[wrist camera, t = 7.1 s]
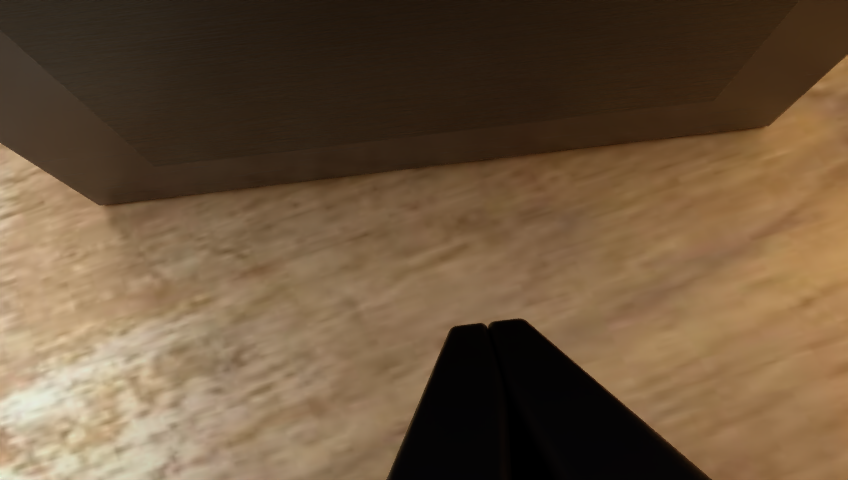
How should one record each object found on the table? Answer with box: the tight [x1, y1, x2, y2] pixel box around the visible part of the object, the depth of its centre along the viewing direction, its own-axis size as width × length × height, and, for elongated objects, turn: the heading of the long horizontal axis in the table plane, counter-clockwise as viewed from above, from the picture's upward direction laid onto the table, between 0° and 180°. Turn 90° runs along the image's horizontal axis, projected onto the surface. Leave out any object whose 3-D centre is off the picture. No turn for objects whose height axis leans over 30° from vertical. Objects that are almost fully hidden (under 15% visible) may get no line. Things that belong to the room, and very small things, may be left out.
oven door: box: [0, 0, 848, 205], centre depth 11 cm, size 4×18×15 cm, turn 97°
